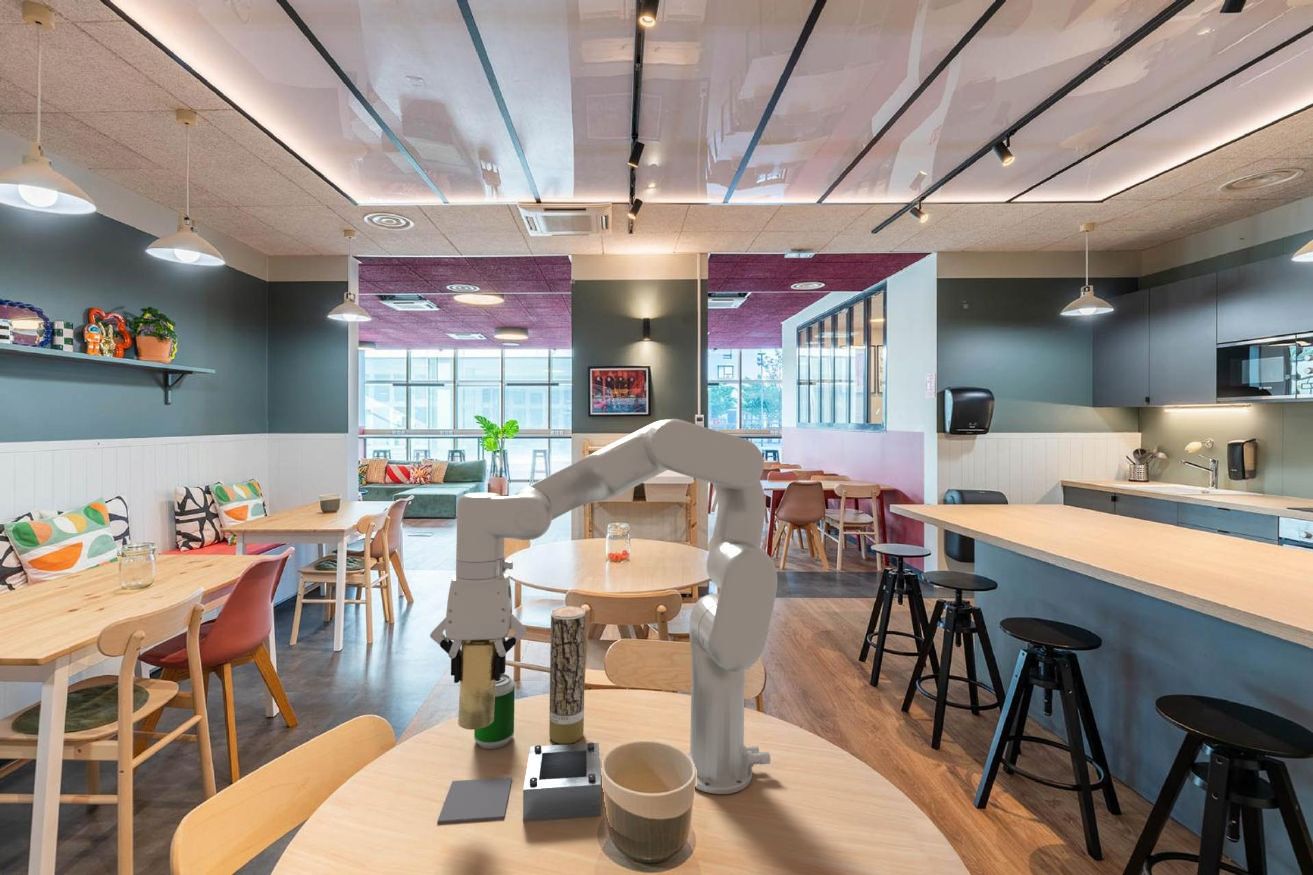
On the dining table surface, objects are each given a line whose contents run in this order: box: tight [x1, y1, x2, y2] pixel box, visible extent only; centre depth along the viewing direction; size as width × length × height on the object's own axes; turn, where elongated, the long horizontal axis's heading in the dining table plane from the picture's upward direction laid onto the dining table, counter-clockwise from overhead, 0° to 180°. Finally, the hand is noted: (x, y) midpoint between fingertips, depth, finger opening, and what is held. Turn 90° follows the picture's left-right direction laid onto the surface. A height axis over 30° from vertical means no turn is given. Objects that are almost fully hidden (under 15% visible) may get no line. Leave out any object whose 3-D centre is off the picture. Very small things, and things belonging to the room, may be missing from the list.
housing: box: [522, 741, 602, 822], centre depth 93 cm, size 12×12×6 cm
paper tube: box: [548, 605, 586, 745], centre depth 111 cm, size 7×7×25 cm
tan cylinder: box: [457, 640, 497, 731], centre depth 91 cm, size 6×6×13 cm
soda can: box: [473, 673, 516, 750], centre depth 109 cm, size 8×8×12 cm
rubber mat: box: [436, 776, 513, 824], centre depth 92 cm, size 10×10×1 cm
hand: (478, 677), depth 91 cm, fingers closed on tan cylinder, 5 cm apart
